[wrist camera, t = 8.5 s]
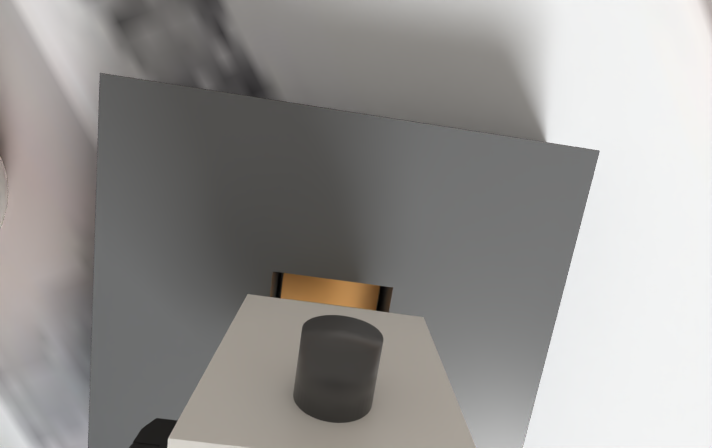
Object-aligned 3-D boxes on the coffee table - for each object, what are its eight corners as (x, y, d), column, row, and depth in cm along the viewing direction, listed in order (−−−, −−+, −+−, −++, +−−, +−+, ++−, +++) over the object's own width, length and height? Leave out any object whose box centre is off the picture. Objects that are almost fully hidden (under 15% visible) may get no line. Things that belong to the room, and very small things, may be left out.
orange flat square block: (273, 363, 23) (271, 368, 23) (286, 261, 22) (284, 264, 22) (363, 374, 24) (364, 379, 23) (380, 274, 22) (381, 277, 22)
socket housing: (132, 439, 27) (85, 510, 22) (152, 83, 23) (99, 73, 18) (469, 476, 28) (495, 550, 23) (547, 144, 24) (599, 150, 19)
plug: (246, 417, 20) (147, 720, 10) (267, 226, 18) (173, 359, 8) (382, 433, 20) (420, 741, 10) (417, 247, 19) (505, 399, 8)
